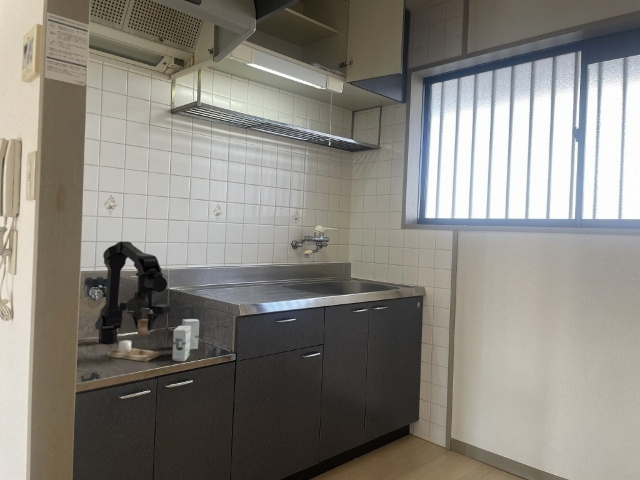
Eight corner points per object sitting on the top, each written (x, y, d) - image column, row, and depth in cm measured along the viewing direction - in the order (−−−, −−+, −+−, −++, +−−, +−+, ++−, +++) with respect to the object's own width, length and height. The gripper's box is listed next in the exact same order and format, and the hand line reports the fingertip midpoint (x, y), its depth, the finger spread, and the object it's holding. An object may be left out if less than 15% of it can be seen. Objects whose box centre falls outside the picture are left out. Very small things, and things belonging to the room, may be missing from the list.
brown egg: (134, 334, 182) (135, 320, 182) (142, 331, 187) (142, 318, 187) (145, 335, 181) (145, 322, 181) (152, 333, 186) (152, 319, 185)
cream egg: (115, 355, 185) (116, 342, 185) (123, 352, 189) (124, 339, 189) (126, 356, 184) (126, 343, 183) (133, 353, 188) (133, 341, 188)
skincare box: (183, 351, 198) (185, 321, 197) (180, 348, 201) (181, 319, 201) (198, 349, 201) (199, 320, 201) (194, 347, 205) (196, 318, 205)
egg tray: (107, 357, 183) (107, 352, 183) (122, 352, 191) (122, 347, 191) (145, 363, 179) (145, 357, 179) (159, 357, 187) (159, 352, 187)
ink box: (177, 354, 192) (178, 324, 192) (190, 355, 192) (191, 325, 192) (171, 360, 183) (173, 329, 183) (185, 361, 184) (186, 330, 183)
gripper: (109, 289, 178) (107, 332, 179) (154, 293, 173) (152, 337, 174) (129, 286, 189) (127, 326, 189) (172, 290, 184) (170, 331, 184)
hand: (143, 330), depth 184 cm, fingers closed on brown egg, 4 cm apart
